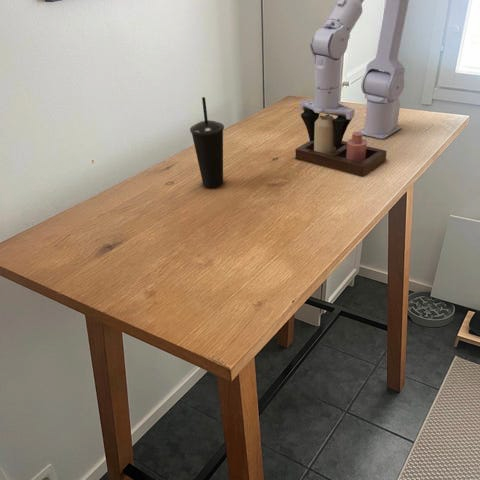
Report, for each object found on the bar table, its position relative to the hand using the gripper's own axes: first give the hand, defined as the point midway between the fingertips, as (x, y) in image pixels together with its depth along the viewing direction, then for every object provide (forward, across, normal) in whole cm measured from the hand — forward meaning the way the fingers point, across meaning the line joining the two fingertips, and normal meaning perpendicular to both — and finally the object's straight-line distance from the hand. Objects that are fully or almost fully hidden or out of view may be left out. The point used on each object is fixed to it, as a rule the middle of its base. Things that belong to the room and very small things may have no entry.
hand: (325, 142), depth 128 cm
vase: (+3, +9, 0) cm, 10 cm away
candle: (+4, 0, 0) cm, 4 cm away
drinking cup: (+4, -13, -28) cm, 31 cm away
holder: (+3, +5, 0) cm, 6 cm away
